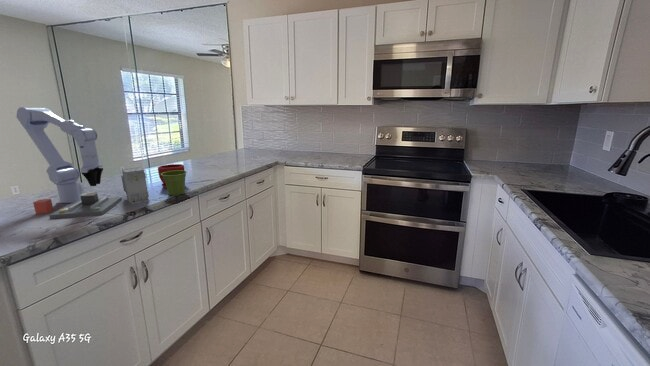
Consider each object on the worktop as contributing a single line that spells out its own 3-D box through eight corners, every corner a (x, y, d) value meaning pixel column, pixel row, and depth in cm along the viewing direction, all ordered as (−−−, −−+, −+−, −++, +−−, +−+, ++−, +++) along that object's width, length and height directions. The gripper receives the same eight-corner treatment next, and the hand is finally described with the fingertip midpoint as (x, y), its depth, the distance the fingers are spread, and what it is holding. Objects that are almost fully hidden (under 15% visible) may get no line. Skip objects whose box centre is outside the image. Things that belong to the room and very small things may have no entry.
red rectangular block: (42, 210, 123) (39, 199, 122) (53, 209, 124) (50, 198, 123) (36, 213, 119) (33, 202, 118) (47, 213, 120) (44, 201, 119)
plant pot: (160, 193, 148) (157, 172, 145) (184, 189, 156) (182, 169, 153) (168, 198, 140) (164, 176, 137) (192, 194, 148) (190, 172, 145)
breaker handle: (85, 202, 128) (83, 193, 127) (98, 202, 129) (96, 192, 128) (82, 204, 125) (80, 195, 124) (95, 204, 126) (93, 194, 125)
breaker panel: (77, 203, 133) (76, 197, 132) (121, 200, 137) (120, 194, 137) (49, 218, 114) (48, 212, 113) (102, 214, 119) (101, 208, 118)
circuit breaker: (141, 194, 147) (137, 165, 143) (149, 200, 137) (144, 169, 134) (124, 197, 142) (119, 167, 138) (131, 203, 132) (125, 172, 129)
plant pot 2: (191, 185, 165) (189, 164, 162) (170, 190, 154) (167, 168, 151) (176, 182, 171) (174, 162, 168) (155, 187, 160) (152, 166, 157)
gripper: (92, 157, 123) (98, 188, 126) (107, 153, 136) (112, 180, 140) (72, 158, 121) (79, 189, 124) (89, 153, 135) (95, 181, 138)
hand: (95, 184), depth 132 cm, fingers open, 3 cm apart
